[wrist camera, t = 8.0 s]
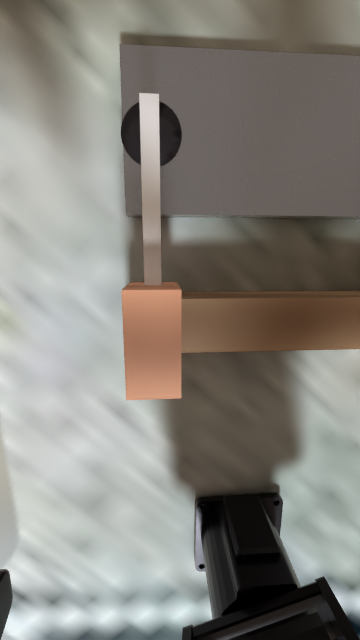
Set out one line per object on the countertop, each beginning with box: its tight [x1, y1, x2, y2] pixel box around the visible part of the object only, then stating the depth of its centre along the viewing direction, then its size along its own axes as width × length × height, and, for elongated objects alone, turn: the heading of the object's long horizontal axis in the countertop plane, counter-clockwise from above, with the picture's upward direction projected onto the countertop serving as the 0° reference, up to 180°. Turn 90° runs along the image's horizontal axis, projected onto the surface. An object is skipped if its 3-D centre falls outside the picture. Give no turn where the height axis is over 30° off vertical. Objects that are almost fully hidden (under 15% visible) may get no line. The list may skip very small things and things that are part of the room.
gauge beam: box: [122, 93, 360, 400], centre depth 15 cm, size 13×20×6 cm, turn 90°
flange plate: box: [120, 44, 360, 219], centre depth 16 cm, size 8×20×1 cm, turn 90°
